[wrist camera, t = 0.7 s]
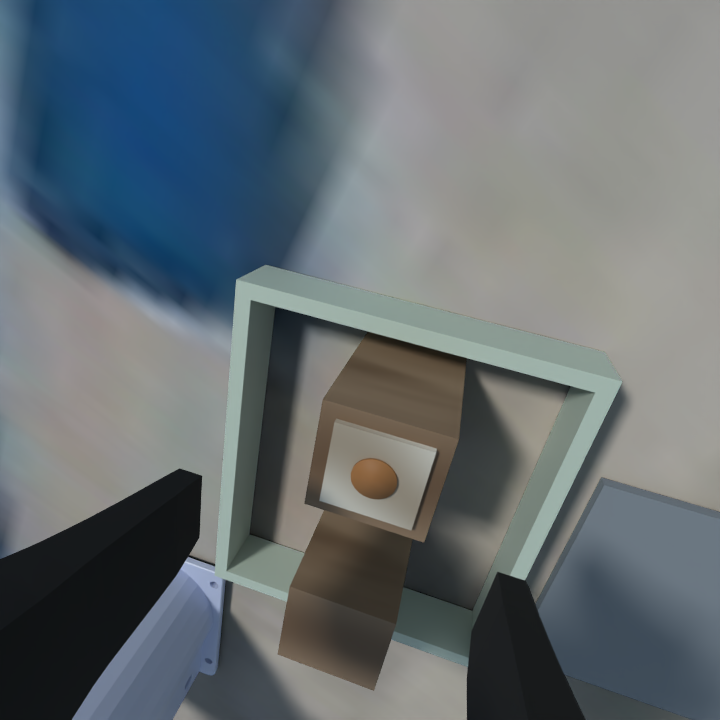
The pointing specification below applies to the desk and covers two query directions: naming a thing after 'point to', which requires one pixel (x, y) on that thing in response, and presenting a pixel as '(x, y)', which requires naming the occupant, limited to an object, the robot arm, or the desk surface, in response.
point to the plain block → (345, 599)
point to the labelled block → (388, 435)
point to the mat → (640, 600)
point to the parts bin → (425, 328)
